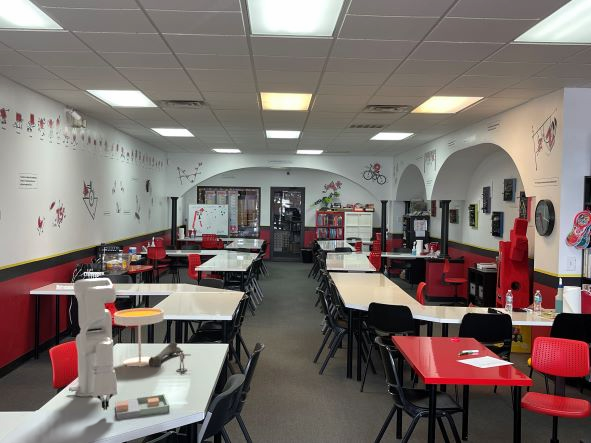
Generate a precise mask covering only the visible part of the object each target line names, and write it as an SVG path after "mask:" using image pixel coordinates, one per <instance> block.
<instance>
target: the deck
mask: <svg viewBox="0 0 591 443" xmlns="http://www.w3.org/2000/svg"><path fill="white" fill-rule="evenodd" d="M123 401H128V410H124V411H117V410H116V402H123ZM114 404H115V407H114V408H115V413H116V414H115V415H116V420H123V419H128V418H134V417H141V416H140V408H139V404H138V400H137V398H132V399H125V400H117V401H115V403H114Z"/></svg>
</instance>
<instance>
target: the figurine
mask: <svg viewBox="0 0 591 443" xmlns="http://www.w3.org/2000/svg"><path fill="white" fill-rule="evenodd" d="M177 355H178V357H179V360H180V361H179V368H177V369H176V371H175V372H176V373H186V372H188V369H187V368H185V364H184V363H185V362H184V360H185V357H186V356H188V357H189V356H191V353H189V354H187V353H184V350H182V349H181V352H180V354H176V353H174V354H173V356H177Z"/></svg>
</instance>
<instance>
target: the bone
mask: <svg viewBox="0 0 591 443" xmlns="http://www.w3.org/2000/svg"><path fill="white" fill-rule="evenodd" d="M181 350H182V349H181V348H180V347H179V346H178V343H177V342H176V341H171V342H169V344H168V345H167V346H166V347H165V348H163V349H162V351H160V352H159V353H158V354H157V355H156V356H150V357H151V358H150V359H149V365H148V366H149V367H150V368H154V367H160V366H161V364H162V361H163V358H165V357H167V356H168V355H171V356H172V355H173V354H181ZM173 356H174V355H173ZM176 356H178V357H179V355H176Z"/></svg>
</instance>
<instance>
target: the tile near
mask: <svg viewBox="0 0 591 443" xmlns="http://www.w3.org/2000/svg"><path fill="white" fill-rule="evenodd" d="M122 401H123V402H116V401H115V402H116V408H115V411H116V410H117V411H124V410H128V401H124V400H122Z"/></svg>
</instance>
